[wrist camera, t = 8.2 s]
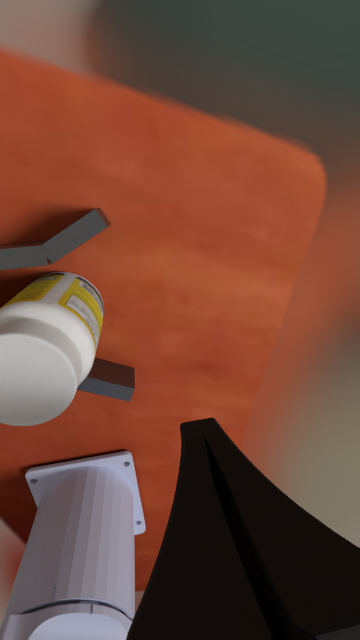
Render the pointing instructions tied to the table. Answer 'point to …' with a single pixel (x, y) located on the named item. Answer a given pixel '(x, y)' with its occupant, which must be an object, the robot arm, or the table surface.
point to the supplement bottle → (47, 346)
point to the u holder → (39, 253)
